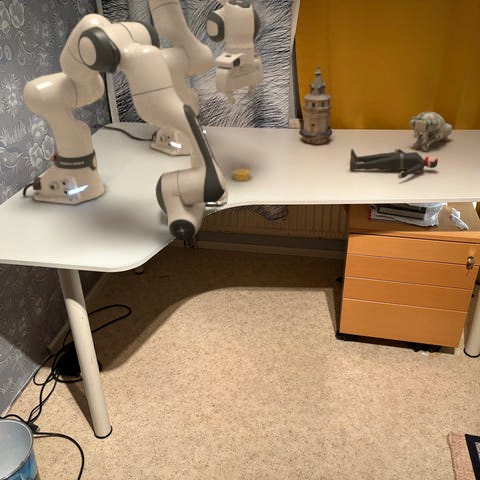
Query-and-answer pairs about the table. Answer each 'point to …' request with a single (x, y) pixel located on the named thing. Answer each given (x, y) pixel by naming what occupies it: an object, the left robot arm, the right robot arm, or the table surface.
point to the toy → (393, 162)
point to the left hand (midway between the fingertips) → (197, 185)
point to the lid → (241, 174)
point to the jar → (194, 160)
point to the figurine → (429, 128)
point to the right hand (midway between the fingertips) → (240, 101)
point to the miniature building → (316, 112)
